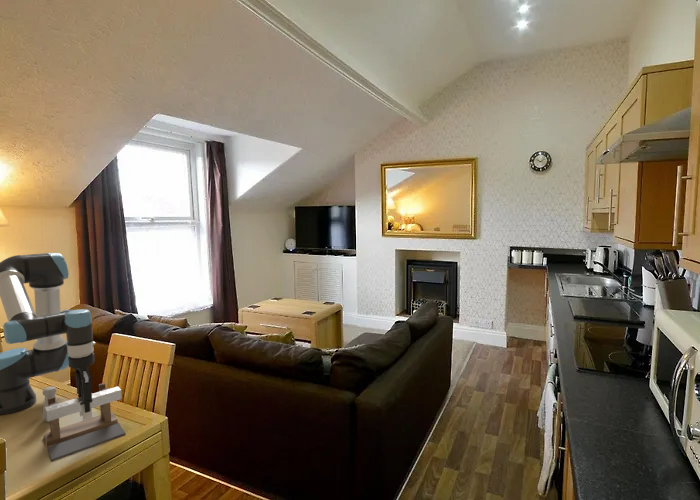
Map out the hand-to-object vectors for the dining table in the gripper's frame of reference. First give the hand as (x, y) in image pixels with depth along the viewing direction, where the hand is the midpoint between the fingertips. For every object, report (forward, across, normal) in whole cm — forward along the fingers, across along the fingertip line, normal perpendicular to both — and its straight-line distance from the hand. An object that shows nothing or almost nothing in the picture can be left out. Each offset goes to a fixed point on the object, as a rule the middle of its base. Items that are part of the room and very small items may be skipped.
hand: (86, 417), depth 139 cm
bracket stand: (+9, +10, 0) cm, 14 cm away
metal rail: (-4, 0, 0) cm, 4 cm away
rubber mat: (+9, 0, 0) cm, 9 cm away
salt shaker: (+9, +27, +7) cm, 30 cm away
